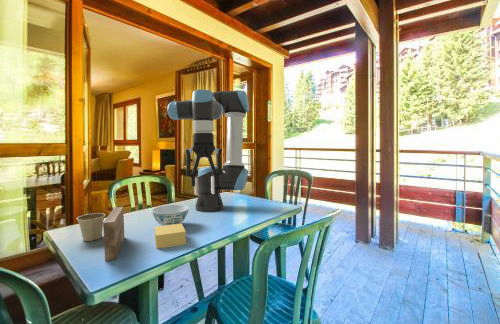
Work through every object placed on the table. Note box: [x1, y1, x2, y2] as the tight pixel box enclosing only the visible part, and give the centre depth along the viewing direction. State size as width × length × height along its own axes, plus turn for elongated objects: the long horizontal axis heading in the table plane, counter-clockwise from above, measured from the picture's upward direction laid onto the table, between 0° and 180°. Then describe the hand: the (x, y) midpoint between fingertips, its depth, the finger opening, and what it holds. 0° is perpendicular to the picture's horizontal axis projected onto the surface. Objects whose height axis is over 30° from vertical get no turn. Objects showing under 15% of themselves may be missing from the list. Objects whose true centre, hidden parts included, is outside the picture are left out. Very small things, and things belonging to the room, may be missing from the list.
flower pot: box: [76, 212, 106, 242], centre depth 99 cm, size 9×9×9 cm
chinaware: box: [151, 204, 189, 226], centre depth 113 cm, size 15×15×8 cm
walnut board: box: [102, 206, 125, 262], centre depth 90 cm, size 3×20×12 cm, turn 18°
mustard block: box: [154, 222, 187, 250], centre depth 96 cm, size 10×10×5 cm
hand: (204, 193), depth 99 cm, fingers open, 6 cm apart
